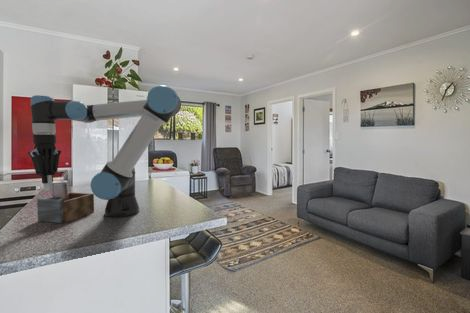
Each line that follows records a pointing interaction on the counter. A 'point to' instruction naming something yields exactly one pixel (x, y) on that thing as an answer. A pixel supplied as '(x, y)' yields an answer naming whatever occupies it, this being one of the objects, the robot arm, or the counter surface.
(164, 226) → the counter surface
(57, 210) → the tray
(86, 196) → the caddy
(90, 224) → the counter surface
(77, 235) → the counter surface
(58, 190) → the beverage can
